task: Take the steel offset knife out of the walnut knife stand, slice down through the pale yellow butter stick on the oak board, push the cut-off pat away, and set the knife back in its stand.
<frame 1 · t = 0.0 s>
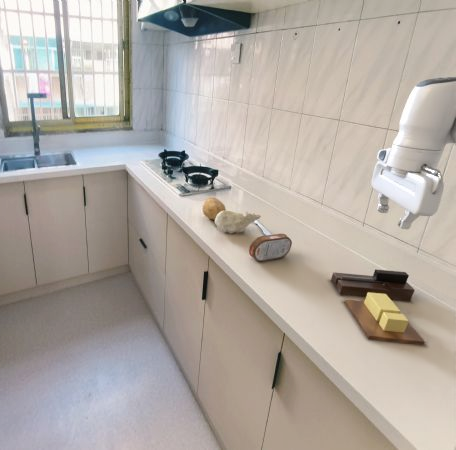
hand: (391, 219, 78), 25 cm above the worktop, tool pointing down, fingers open, 8 cm apart
cream lumpy tapered piece: (235, 230, 131), on the worktop
knife: (364, 288, 96), point 1 cm above the worktop, touching knife stand
butter knife: (258, 224, 137), on the worktop
tin: (268, 259, 111), on the worktop
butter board: (380, 321, 84), on the worktop
butter: (379, 312, 85), point 1 cm above the worktop, touching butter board
butter pat: (391, 328, 80), point 1 cm above the worktop, touching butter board
knife stand: (364, 290, 96), on the worktop
potato: (213, 219, 141), on the worktop
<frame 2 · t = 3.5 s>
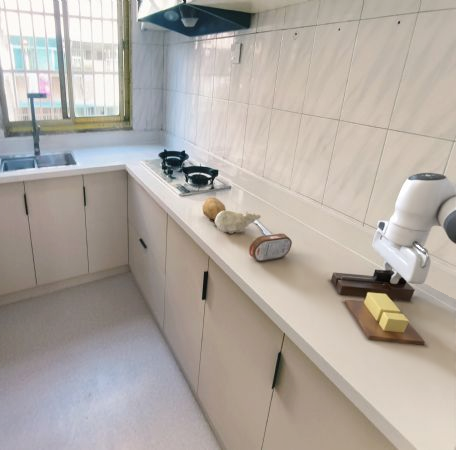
hand: (389, 279, 94), 4 cm above the worktop, tool pointing down, fingers closed on knife, 2 cm apart
knife: (364, 288, 96), point 1 cm above the worktop, touching gripper, knife stand
everything else where it was.
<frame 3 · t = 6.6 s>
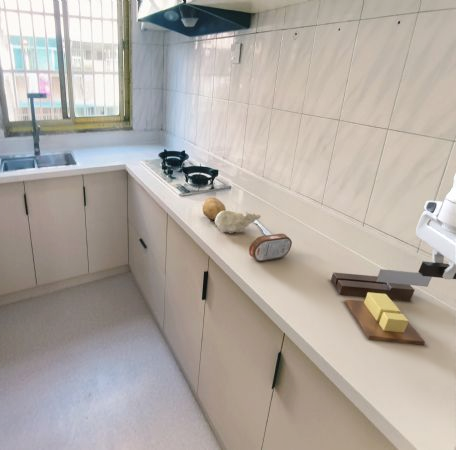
hand: (440, 273, 75), 16 cm above the worktop, tool pointing down, fingers closed on knife
knife: (408, 284, 77), point 12 cm above the worktop, touching gripper
everything else where it was.
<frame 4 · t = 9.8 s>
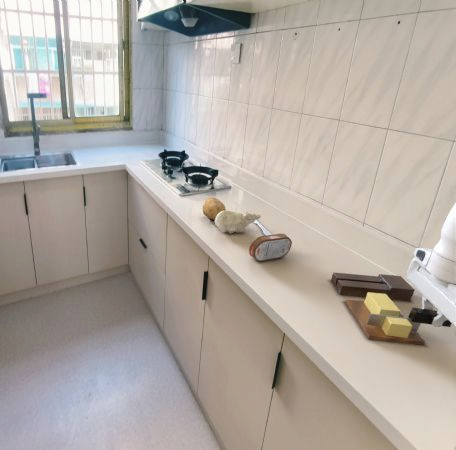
hand: (430, 320, 77), 5 cm above the worktop, tool pointing down, fingers closed on knife, 2 cm apart
knife: (398, 328, 79), point 1 cm above the worktop, touching butter pat, gripper
butter pat: (394, 333, 79), point 1 cm above the worktop, touching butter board, knife
everything else where it was.
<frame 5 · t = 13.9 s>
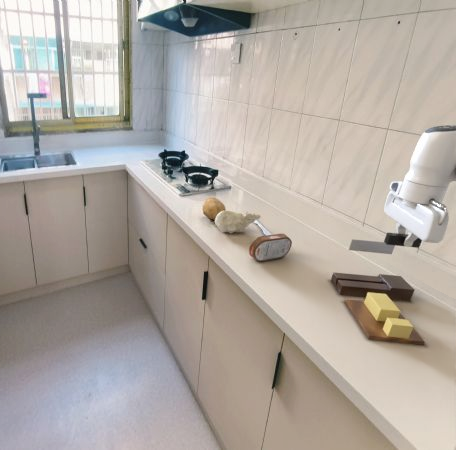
hand: (402, 242, 89), 16 cm above the worktop, tool pointing down, fingers closed on knife
knife: (375, 252, 91), point 12 cm above the worktop, touching gripper
butter pat: (395, 334, 78), point 1 cm above the worktop, touching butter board
everything else where it was.
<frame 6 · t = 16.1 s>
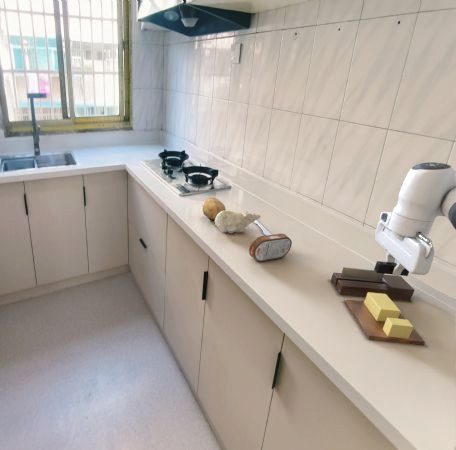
hand: (392, 271, 93), 7 cm above the worktop, tool pointing down, fingers closed on knife, 2 cm apart
knife: (366, 279, 95), point 3 cm above the worktop, touching gripper
everything else where it was.
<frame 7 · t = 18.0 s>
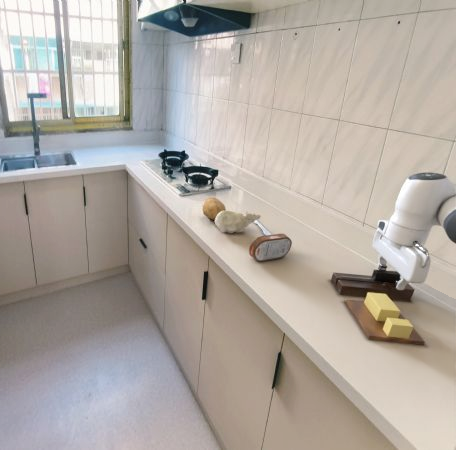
hand: (389, 278, 94), 4 cm above the worktop, tool pointing down, fingers open, 8 cm apart
knife: (363, 288, 96), point 1 cm above the worktop, touching knife stand
everything else where it was.
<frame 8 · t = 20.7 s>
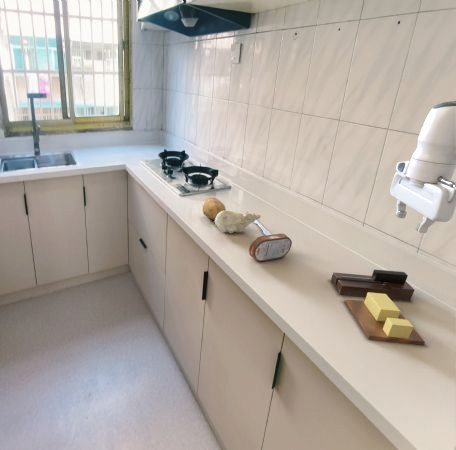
hand: (409, 224, 87), 21 cm above the worktop, tool pointing down, fingers open, 8 cm apart
nothing on the worktop moved.
at the end: butter pat moved 2.0 cm from its start; butter moved 0.0 cm from its start; knife 0.3 cm from the target spot, point 0.8 cm above the worktop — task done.
